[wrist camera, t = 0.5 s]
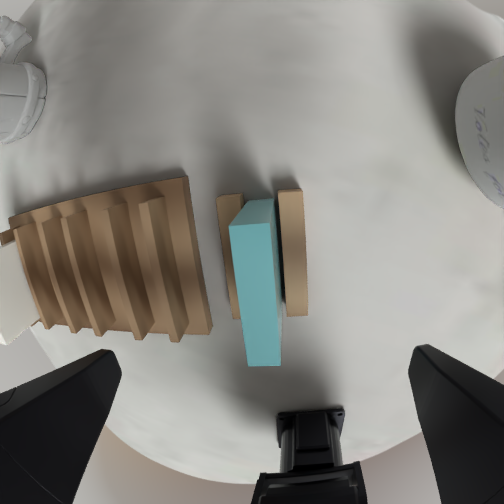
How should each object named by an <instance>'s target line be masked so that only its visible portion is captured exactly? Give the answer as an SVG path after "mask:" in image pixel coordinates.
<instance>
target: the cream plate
mask: <svg viewBox="0 0 504 504" xmlns="http://www.w3.org/2000/svg"><path fill="white" fill-rule="evenodd" d="M39 318H40V315H39V313H38V310H37V308H36V305H35V302H34V300H33V297H32V294H31V291H30V288H29V285H28V282H27V279H26V276H25V273H24V270H23V266H22V263H21V259H20V256H19V252H18V248H17V244H16V240H13V241H11V242H9V243H6V244H4V245H2V246H0V343H1V344H4V345H9V344H10V343H11V342H12V341H13V340H14V339H16V338H17V337H18V336H19V335H20V334H21V333H23V332H24V331H25V330H26V329H27V328H28V327H30V326H31V325H32V324H33V323H35V322H36V321H37V320H38V319H39Z"/></svg>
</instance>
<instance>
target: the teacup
mask: <svg viewBox="0 0 504 504" xmlns="http://www.w3.org/2000/svg"><path fill="white" fill-rule="evenodd" d="M455 123H456V133H457V139H458V143H459V147H460V151H461V154H462V157H463V160H464V162H465V165H466V167H467V169H468V171H469V173H470V175H471V177H472V179H473V180H474V182H475V183H476V185H477V186H478V188H479V189H480V190H481V191H482V193H483V194H484V195H485V196H486V197H487V198H488V199H489V200H491V201H492V202H493V203H494V204H496V205H497V206H499V207H501V208H503V209H504V56H502V57H499V58H497V59H495V60H492V61H490V62H488V63H486V64H484V65H482V66H480V67H479V68H477V69H476V70H474V71H473V72H472V73H471V74H470V75H469V76H467V78H466V79H465V80H464V82H463V84H462V85H461V88H460V90H459V93H458V96H457V101H456V109H455Z"/></svg>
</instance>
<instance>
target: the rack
mask: <svg viewBox="0 0 504 504" xmlns="http://www.w3.org/2000/svg"><path fill="white" fill-rule="evenodd" d="M8 219H9V224H10V229H9V230H7V231H4V232H2V233H0V241H1V245H4V244H6V243H9V242H11V241H13V240H16V244H17V248H18V252H19V256H20V259H21V263H22V266H23V270H24V273H25V276H26V279H27V282H28V285H29V288H30V291H31V294H32V297H33V300H34V302H35V305H36V308H37V310H38V313H39V315H40V318H39V319H38V320H37V321H36V322H35V323H33V324H32V325H31V326H33V325H34V324H36V323H37V322H38V321H40V322H42V323H43V325H44V327H45V329H50V328H51V327H52V326H53V325H55V324H58V325H66V326H69V328H70V331H71V333H77V332H78V331H79V330H80V329H81V328H82V327H83V328H92V329H93V330H94V333H95V335H96V336H100V337H102V336H103V335H104V333H105V332H106V331H107V330H114V331H127V332H133V335H134V338H135V340H143V339H144V337H145V336H146V335H147V333H162V334H169V338H170V341H171V342H180V340H181V338H182V336H183V334H199V335H209V334H210V331H211V329H212V326H213V324H212V319H211V314H210V309H209V304H208V299H207V294H206V288H205V283H204V277H203V272H202V266H201V260H200V254H199V248H198V242H197V236H196V229H195V223H194V216H193V209H192V202H191V195H190V188H189V180H188V176H186V177H179V178H173V179H167V180H161V181H155V182H150V183H144V184H139V185H134V186H129V187H124V188H119V189H114V190H110V191H105V192H101V193H96V194H92V195H88V196H83V197H79V198H75V199H71V200H68V201H64V202H60V203H56V204H53V205H49V206H45V207H42V208H38V209H35V210H32V211H28V212H25V213H22V214H19V215H16V216H13V217H10V218H8Z"/></svg>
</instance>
